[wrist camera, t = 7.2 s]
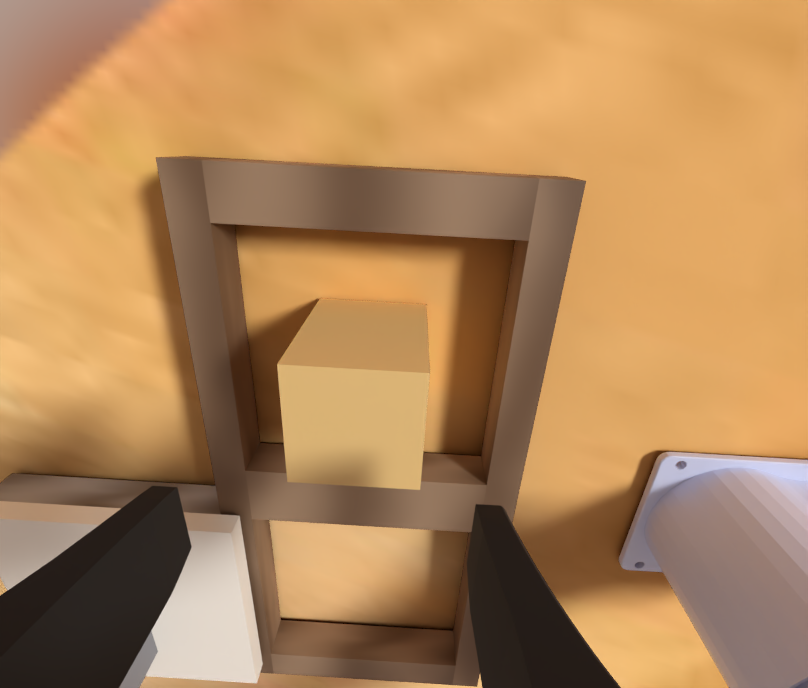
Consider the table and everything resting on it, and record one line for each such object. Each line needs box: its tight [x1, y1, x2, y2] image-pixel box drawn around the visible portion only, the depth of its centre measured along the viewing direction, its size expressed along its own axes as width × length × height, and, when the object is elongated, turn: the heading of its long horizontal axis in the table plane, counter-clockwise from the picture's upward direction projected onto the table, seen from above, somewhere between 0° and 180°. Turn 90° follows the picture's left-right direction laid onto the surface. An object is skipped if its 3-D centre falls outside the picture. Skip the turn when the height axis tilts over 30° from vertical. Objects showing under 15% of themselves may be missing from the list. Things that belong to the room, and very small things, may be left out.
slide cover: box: [0, 501, 263, 688], centre depth 21 cm, size 12×12×4 cm
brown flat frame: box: [0, 156, 586, 686], centre depth 21 cm, size 26×29×2 cm
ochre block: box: [277, 298, 430, 490], centre depth 16 cm, size 4×4×6 cm
